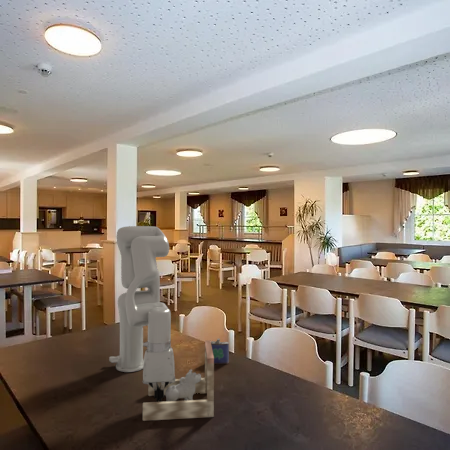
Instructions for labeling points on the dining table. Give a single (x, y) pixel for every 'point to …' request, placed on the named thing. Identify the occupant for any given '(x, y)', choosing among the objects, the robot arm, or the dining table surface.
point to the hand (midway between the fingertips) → (159, 400)
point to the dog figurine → (183, 387)
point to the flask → (220, 352)
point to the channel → (190, 406)
